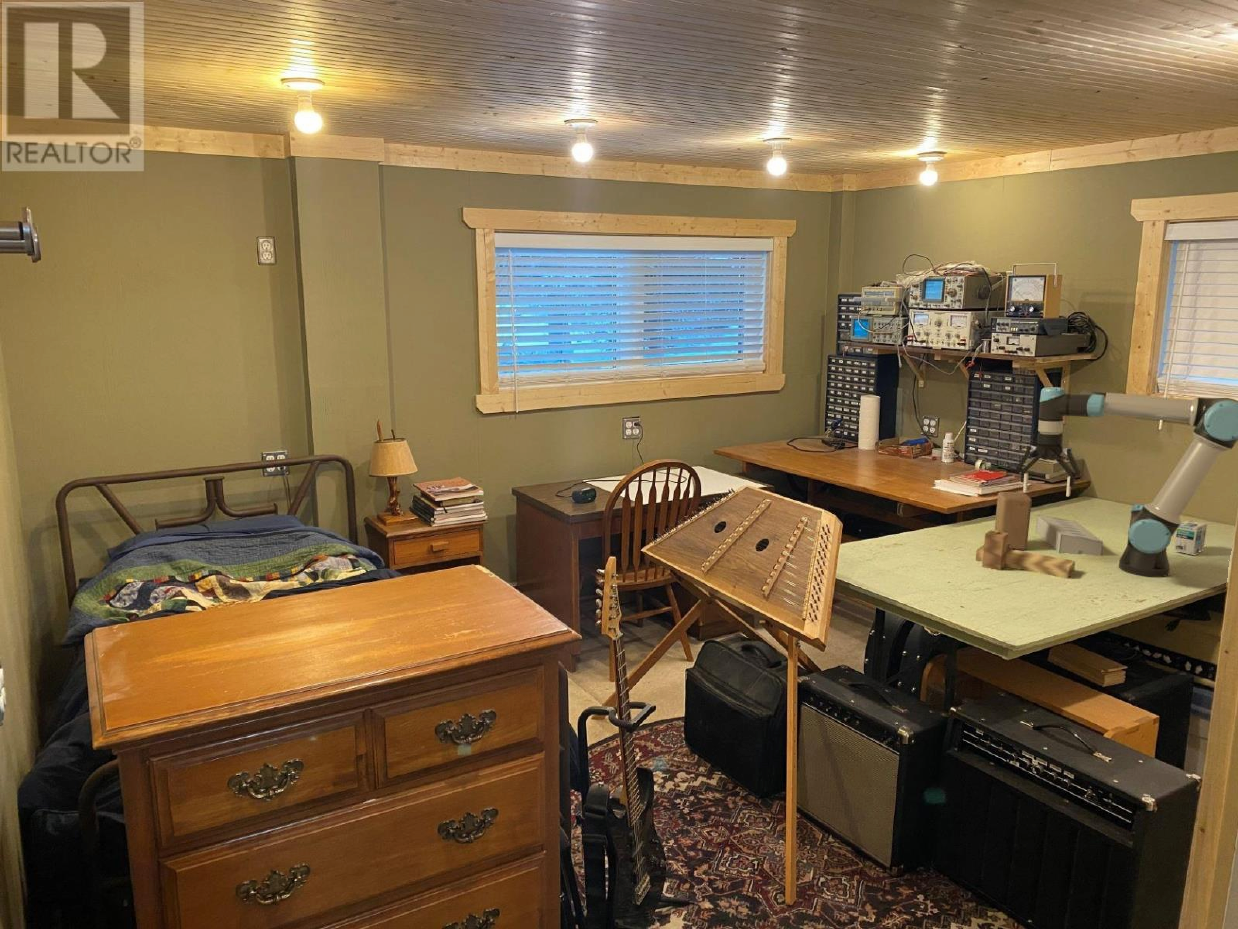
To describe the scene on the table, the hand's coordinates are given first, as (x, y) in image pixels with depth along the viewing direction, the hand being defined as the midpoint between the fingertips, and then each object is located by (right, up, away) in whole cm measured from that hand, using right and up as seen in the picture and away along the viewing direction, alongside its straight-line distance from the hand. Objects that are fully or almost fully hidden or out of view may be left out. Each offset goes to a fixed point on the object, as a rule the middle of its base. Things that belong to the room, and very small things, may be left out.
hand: (1046, 493), depth 302 cm
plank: (-6, -25, +3) cm, 26 cm away
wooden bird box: (-15, -25, +5) cm, 29 cm away
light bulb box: (+65, -23, +24) cm, 72 cm away
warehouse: (+24, -21, +33) cm, 46 cm away
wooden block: (-1, -21, +27) cm, 34 cm away
